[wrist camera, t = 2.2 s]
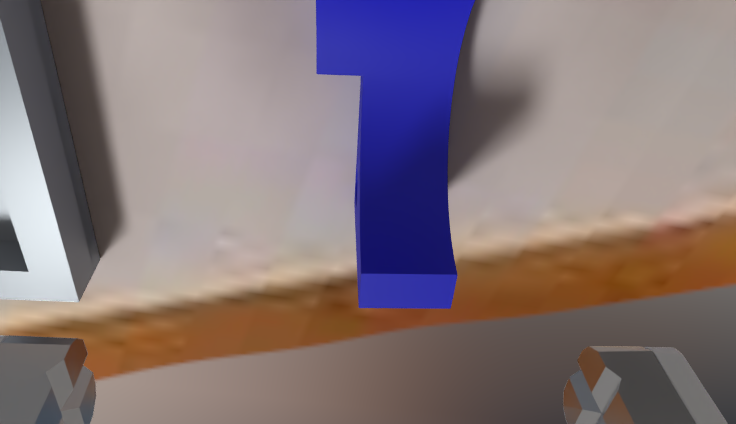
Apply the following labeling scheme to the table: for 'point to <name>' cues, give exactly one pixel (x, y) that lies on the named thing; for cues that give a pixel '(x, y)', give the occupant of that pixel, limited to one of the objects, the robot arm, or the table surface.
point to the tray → (38, 170)
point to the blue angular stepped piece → (399, 140)
